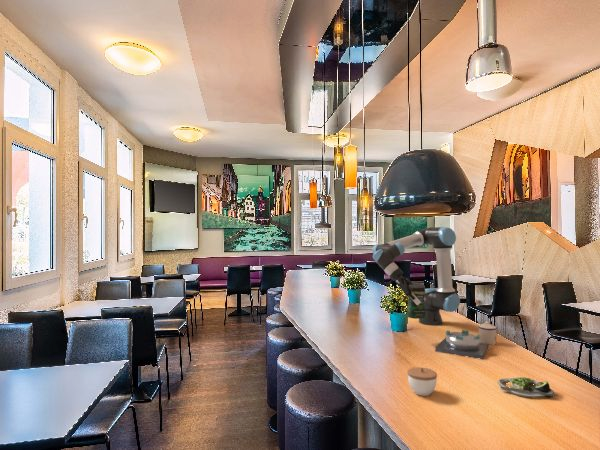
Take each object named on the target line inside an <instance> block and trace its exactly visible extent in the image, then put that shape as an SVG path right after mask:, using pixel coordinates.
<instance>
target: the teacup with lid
mask: <svg viewBox="0 0 600 450" xmlns="http://www.w3.org/2000/svg"><path fill="white" fill-rule="evenodd" d="M477 327H478V335H480V343H485V344H489V346H494V345H493V344H495V345H496V344H497V326H495V325H493V324H491V323H490V321H484V322H483V323H481V324H478V326H477Z"/></svg>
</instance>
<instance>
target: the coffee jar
mask: <svg viewBox="0 0 600 450" xmlns="http://www.w3.org/2000/svg"><path fill="white" fill-rule="evenodd" d="M408 288H409V289H410V291H411V294H412V293H413V294H414V295H415V296H416V297H417V298H418V299H419V300H420V301H421V303H420V304H419V305H416V304H415V302H414V301H413V300H412V299H411V298H410V297H409V296H408V297H407V298H408V300H407V301H408V302H407V311H406V316H407V317H408V318H409V319H416V320H417V319H418V320H419V319H422V318H425V305H424V295H425V289H426V286H425V285H424V284H421V283H420V284H418V283H415V284H414V283H413V284H411V285H408Z"/></svg>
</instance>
